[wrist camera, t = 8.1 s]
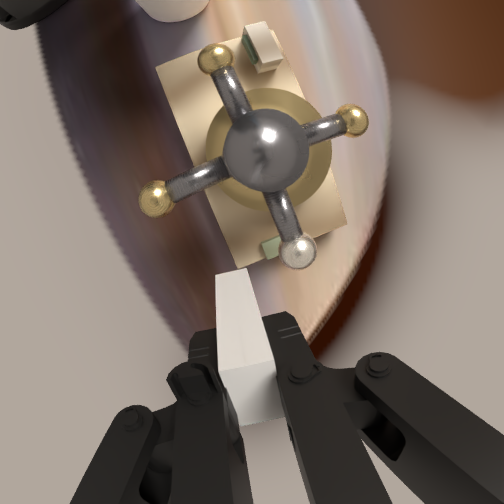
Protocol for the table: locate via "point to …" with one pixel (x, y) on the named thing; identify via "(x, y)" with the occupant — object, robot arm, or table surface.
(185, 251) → the table surface
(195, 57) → the stand
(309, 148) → the capstan
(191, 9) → the cup
